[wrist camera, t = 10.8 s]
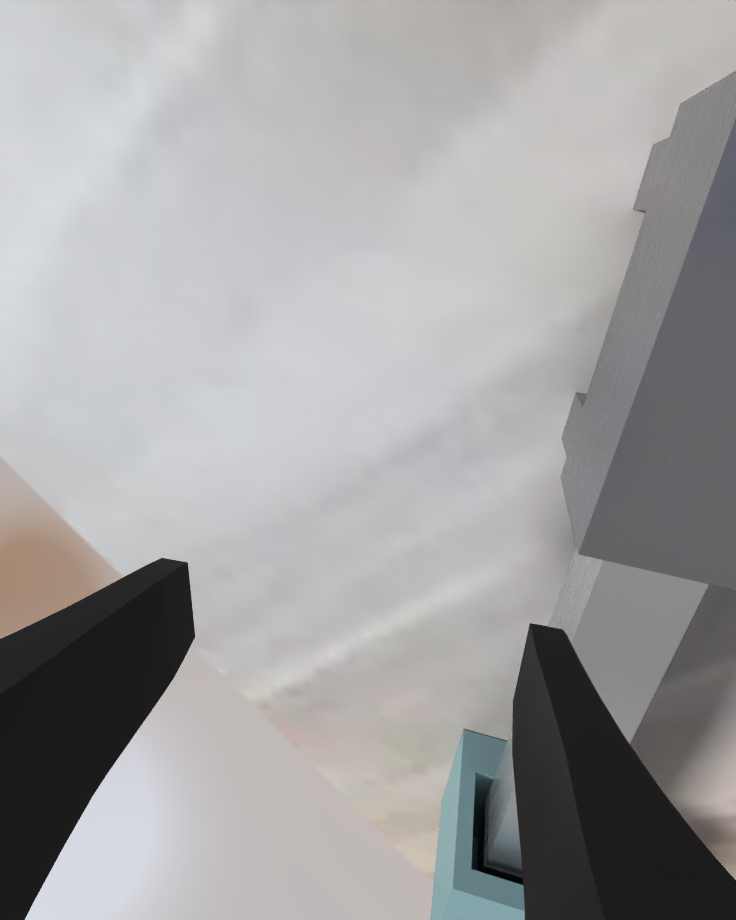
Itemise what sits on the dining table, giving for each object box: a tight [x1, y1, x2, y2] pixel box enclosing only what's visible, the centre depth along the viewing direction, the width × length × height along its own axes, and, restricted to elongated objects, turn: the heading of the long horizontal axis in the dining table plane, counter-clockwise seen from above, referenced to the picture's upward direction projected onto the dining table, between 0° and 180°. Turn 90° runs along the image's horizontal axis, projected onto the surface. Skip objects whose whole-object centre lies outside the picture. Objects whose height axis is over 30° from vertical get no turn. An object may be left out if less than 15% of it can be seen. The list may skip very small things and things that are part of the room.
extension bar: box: [477, 547, 709, 885], centre depth 18 cm, size 3×17×3 cm, turn 172°
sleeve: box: [561, 71, 736, 590], centre depth 14 cm, size 4×10×6 cm, turn 172°
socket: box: [430, 730, 525, 920], centre depth 23 cm, size 5×5×6 cm
